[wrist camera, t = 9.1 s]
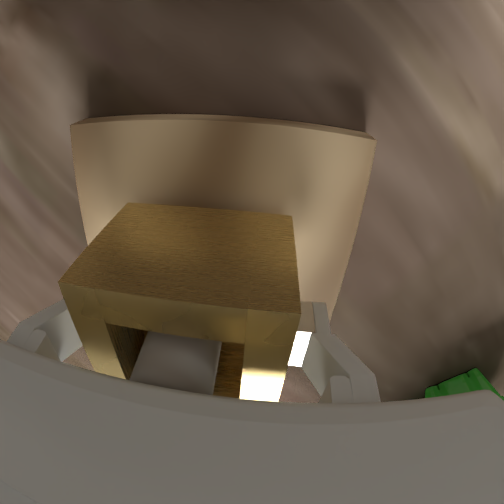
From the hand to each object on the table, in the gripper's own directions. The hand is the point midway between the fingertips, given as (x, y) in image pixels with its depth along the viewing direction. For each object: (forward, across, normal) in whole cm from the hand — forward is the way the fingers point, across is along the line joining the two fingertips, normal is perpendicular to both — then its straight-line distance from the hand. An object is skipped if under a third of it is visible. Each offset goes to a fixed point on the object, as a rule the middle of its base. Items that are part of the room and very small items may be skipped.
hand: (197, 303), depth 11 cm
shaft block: (+4, 0, 0) cm, 4 cm away
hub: (+2, 0, 0) cm, 2 cm away
